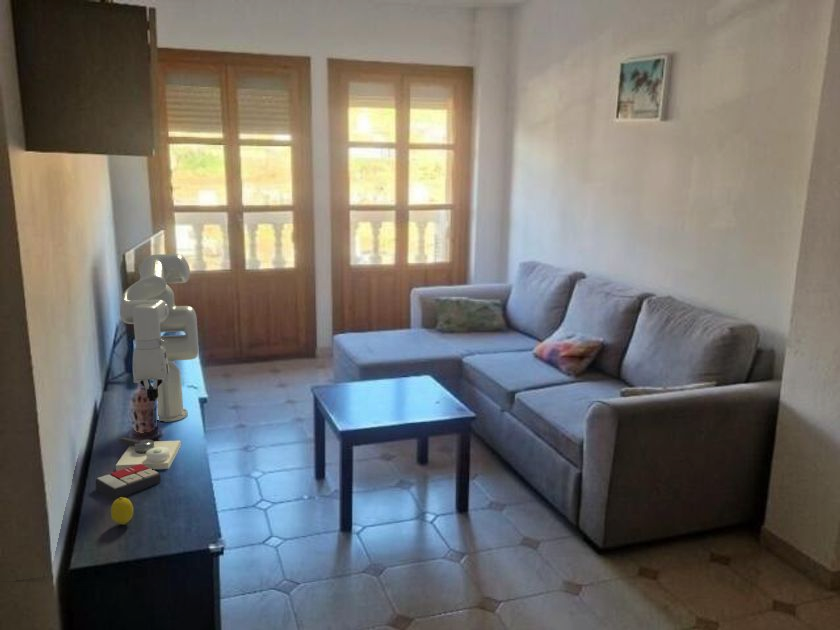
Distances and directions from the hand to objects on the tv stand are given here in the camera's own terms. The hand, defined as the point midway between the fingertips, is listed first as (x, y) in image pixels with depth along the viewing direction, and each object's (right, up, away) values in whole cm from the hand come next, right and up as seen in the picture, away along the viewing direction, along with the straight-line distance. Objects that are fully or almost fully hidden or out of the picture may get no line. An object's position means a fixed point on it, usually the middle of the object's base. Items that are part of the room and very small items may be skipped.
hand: (153, 399), depth 220 cm
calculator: (-3, -25, -10) cm, 27 cm away
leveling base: (-4, -20, +9) cm, 22 cm away
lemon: (+5, -30, -32) cm, 44 cm away
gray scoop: (-10, -17, +11) cm, 23 cm away
